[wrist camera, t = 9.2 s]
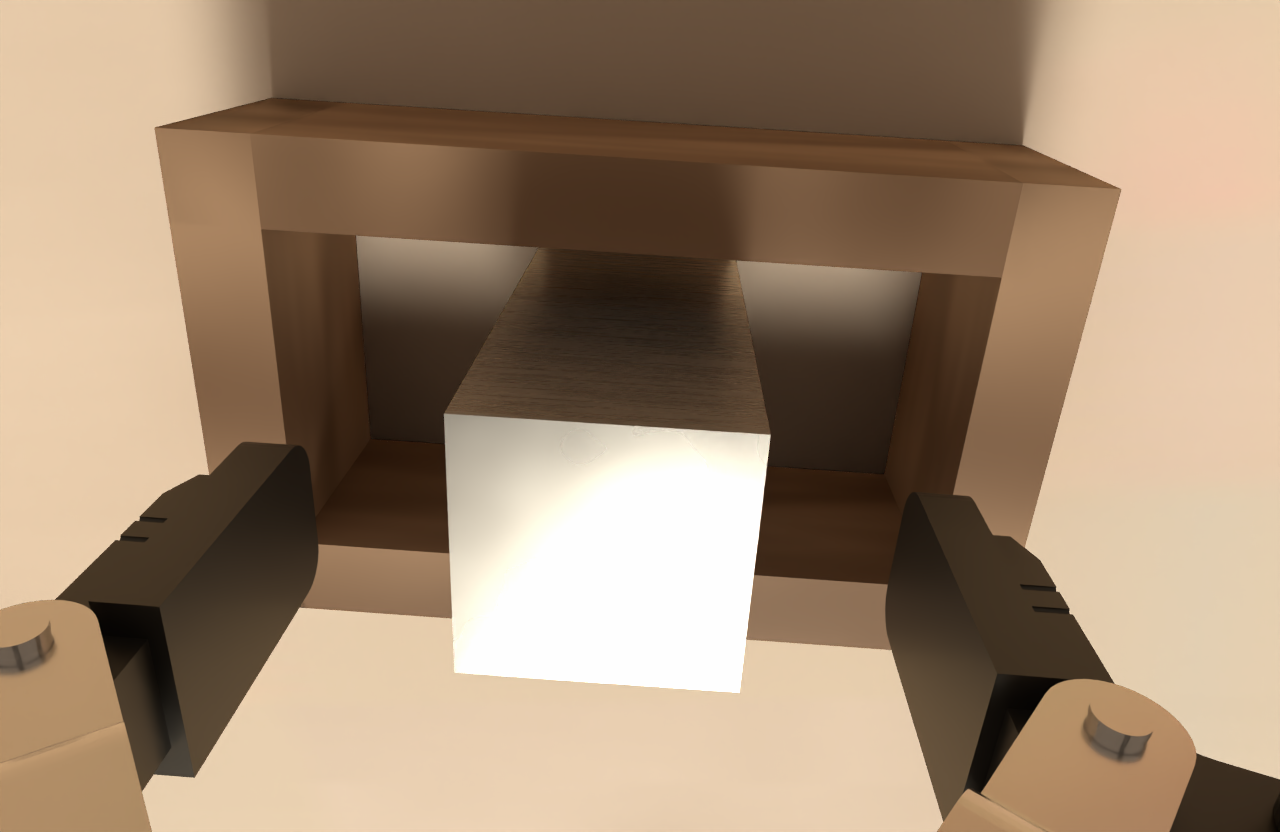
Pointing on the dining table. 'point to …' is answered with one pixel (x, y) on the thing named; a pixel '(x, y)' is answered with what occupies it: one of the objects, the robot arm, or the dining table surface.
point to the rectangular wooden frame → (640, 224)
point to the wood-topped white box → (609, 476)
